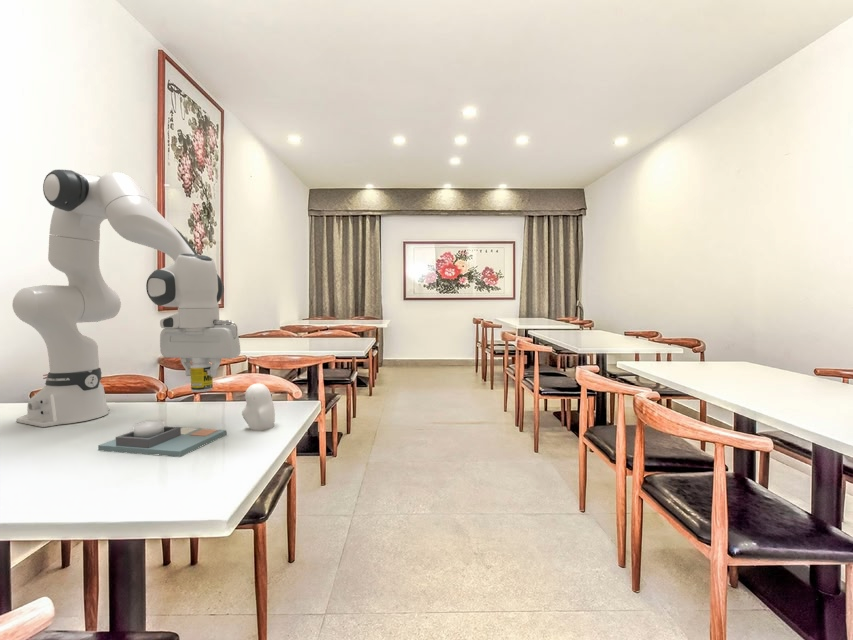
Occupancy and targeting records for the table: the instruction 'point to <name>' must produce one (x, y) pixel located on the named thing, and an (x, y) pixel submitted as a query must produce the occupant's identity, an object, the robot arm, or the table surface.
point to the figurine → (259, 408)
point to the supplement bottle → (200, 375)
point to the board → (164, 441)
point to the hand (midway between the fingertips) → (201, 376)
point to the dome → (148, 428)
